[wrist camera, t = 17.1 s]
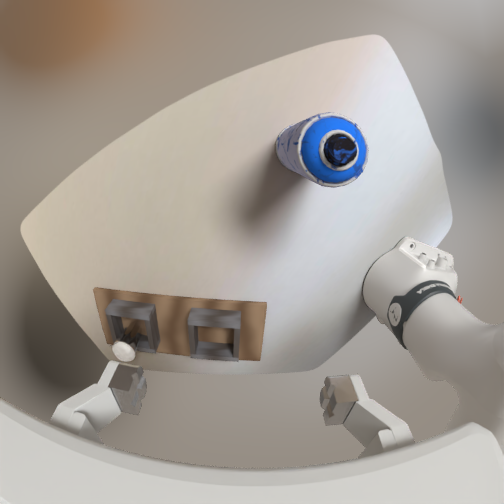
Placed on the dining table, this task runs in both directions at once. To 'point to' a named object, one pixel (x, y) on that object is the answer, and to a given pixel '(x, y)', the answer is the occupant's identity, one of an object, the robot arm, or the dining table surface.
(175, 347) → the port board
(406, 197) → the dining table surface
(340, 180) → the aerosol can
